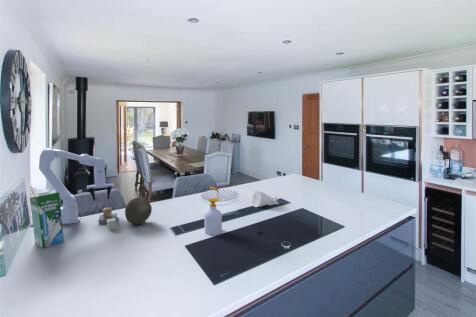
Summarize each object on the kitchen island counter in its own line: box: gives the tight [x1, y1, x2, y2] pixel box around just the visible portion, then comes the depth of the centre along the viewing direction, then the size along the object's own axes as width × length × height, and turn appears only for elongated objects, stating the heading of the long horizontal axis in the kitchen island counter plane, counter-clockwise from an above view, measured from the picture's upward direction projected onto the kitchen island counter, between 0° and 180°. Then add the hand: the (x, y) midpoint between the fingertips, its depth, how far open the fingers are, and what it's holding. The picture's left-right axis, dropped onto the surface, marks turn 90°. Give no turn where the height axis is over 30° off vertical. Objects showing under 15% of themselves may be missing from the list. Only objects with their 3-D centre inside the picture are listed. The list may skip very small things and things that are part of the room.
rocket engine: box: [251, 189, 280, 208], centre depth 189 cm, size 12×12×18 cm
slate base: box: [97, 212, 118, 225], centre depth 159 cm, size 9×9×2 cm
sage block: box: [106, 218, 118, 231], centre depth 148 cm, size 4×4×5 cm
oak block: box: [102, 206, 113, 218], centre depth 159 cm, size 4×4×5 cm
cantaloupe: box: [124, 197, 153, 226], centre depth 154 cm, size 14×14×15 cm
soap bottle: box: [203, 185, 223, 236], centre depth 143 cm, size 9×9×25 cm
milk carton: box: [29, 191, 65, 249], centre depth 130 cm, size 9×9×25 cm
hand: (101, 199), depth 166 cm, fingers open, 7 cm apart
